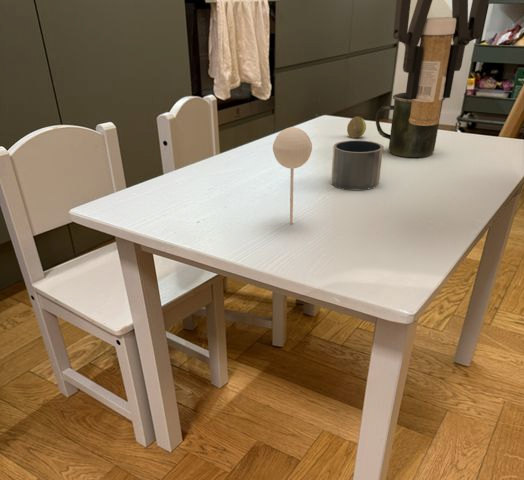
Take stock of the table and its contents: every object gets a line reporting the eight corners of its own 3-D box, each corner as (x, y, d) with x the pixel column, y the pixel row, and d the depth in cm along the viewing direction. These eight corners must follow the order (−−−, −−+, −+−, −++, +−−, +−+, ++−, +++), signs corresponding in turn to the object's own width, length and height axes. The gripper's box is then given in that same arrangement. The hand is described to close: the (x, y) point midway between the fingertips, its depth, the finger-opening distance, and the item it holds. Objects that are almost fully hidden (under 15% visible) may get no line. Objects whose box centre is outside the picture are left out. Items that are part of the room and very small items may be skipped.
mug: (436, 159, 112) (447, 101, 105) (371, 157, 115) (377, 99, 108) (434, 147, 121) (444, 92, 114) (373, 145, 124) (378, 91, 116)
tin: (372, 174, 104) (376, 139, 100) (384, 189, 97) (388, 151, 93) (327, 176, 104) (329, 141, 100) (335, 191, 96) (338, 153, 92)
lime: (364, 139, 128) (366, 118, 125) (345, 138, 129) (347, 118, 126) (365, 135, 132) (367, 115, 129) (347, 134, 133) (348, 114, 130)
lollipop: (287, 233, 80) (288, 134, 71) (265, 222, 84) (264, 127, 75) (316, 224, 83) (321, 128, 74) (294, 214, 87) (296, 121, 78)
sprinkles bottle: (445, 123, 75) (464, 17, 68) (424, 128, 74) (441, 18, 66) (422, 118, 79) (438, 16, 71) (401, 122, 77) (415, 17, 69)
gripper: (515, -113, 64) (473, 90, 77) (381, -111, 63) (363, 94, 77) (546, -124, 58) (495, 99, 71) (398, -122, 57) (376, 103, 71)
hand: (427, 96), depth 74 cm, fingers closed on sprinkles bottle, 4 cm apart
